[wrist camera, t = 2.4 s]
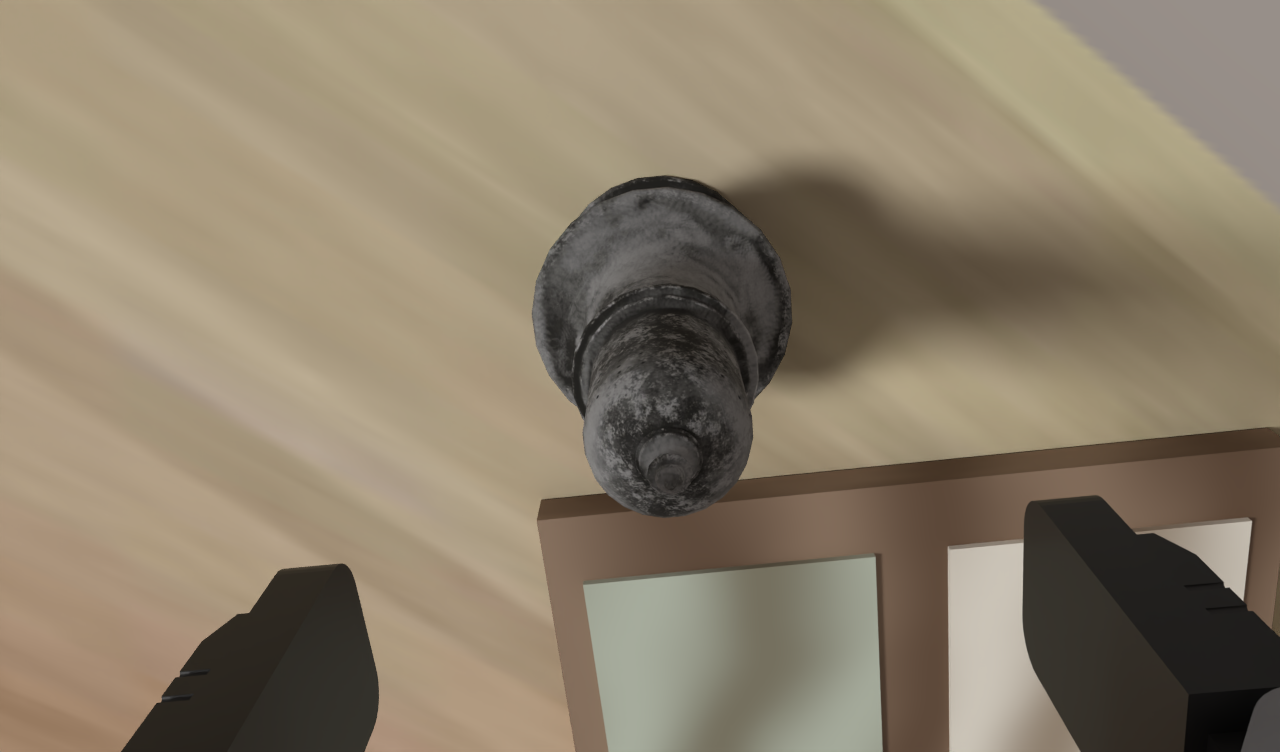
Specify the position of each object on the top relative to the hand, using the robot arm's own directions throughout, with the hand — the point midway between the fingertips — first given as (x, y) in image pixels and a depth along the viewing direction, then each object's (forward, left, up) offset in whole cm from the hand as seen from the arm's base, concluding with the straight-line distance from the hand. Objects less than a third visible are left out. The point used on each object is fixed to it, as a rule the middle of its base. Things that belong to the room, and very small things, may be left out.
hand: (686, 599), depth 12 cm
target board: (+6, -12, -15) cm, 20 cm away
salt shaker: (0, 0, -15) cm, 15 cm away
